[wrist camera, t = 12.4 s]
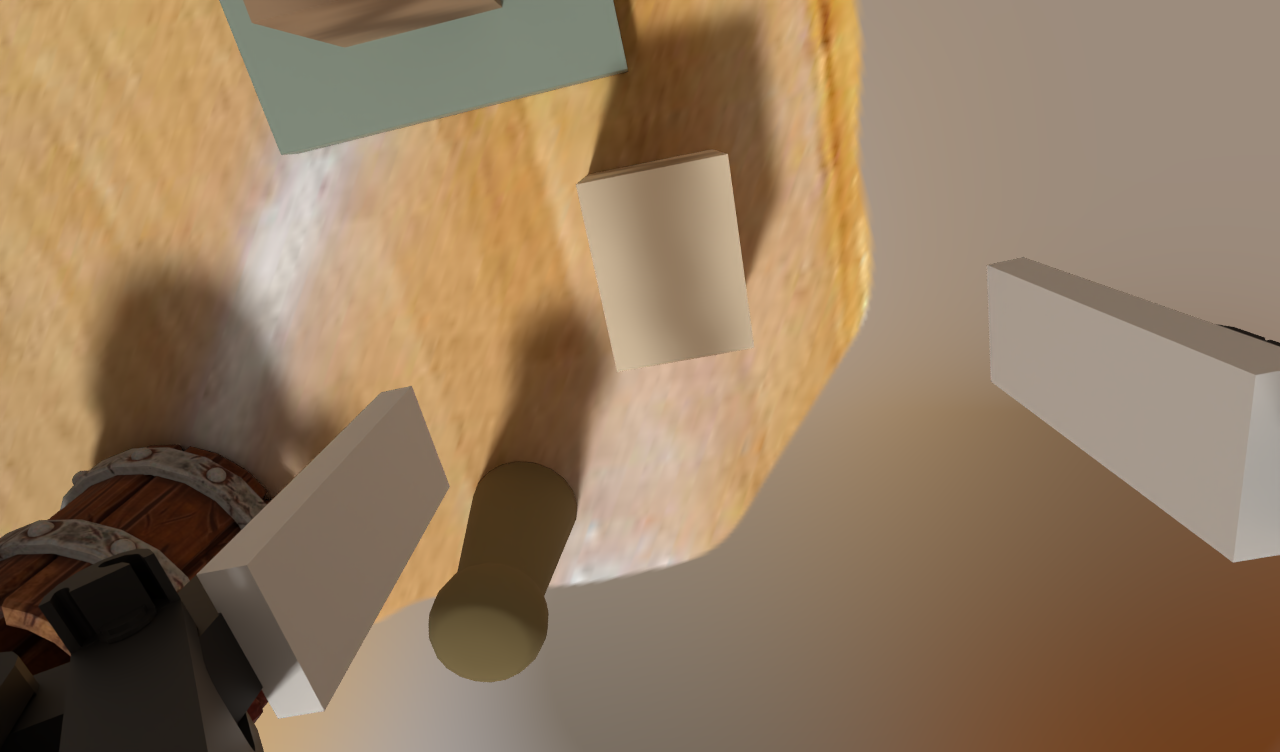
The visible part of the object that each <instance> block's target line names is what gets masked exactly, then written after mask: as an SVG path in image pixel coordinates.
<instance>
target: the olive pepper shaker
mask: <svg viewBox="0 0 1280 752" xmlns="http://www.w3.org/2000/svg"><path fill="white" fill-rule="evenodd" d="M576 513H577V503H576V500H575V497H574V493H573V491H572V489H571V488H570V486H569V485H568V484H567V482H566V481H565V480H564V478H562V477H561V476H560V475H558V474H557V473H556V472H554V471H553V470H552V469H550V468H547V467H544V466H542V465H539V464H536V463H529V462H514V463H509V464H504V465H501V466H499V467H497V468H495V469H493V470H492V471H490V472H488V473H487V474H486V475H485V477H484V478H483V479H482V480H481V481H480V482H479V483H478V486H477V488H476V491H475V493H474V496H473V500H472V505H471V510H470V515H469V519H468V524H467V529H466V534H465V538H464V543H463V548H462V553H461V557H460V562H459V567H458V572H457V573H456V574H455V575H454V576H453V577H452V578H451V579H450V580H449V581H448V582H447V583H446V584H445V585H444V587H443V588H442V589H441V590H440V591H439V593H438V595H437V597H436V599H435V601H434V604H433V606H432V609H431V611H430V615H429V639H430V641H431V644H432V646H433V649H434V651H435V653H436V656H437V658H438V659H439V660H440V661H441V662H442V663H443V664H444V665H445V667H446V668H448V669H449V670H451V671H452V672H454V673H456V674H457V675H459V676H461V677H464V678H467V679H470V680H473V681H480V682H495V681H501V680H506V679H508V678H510V677H512V676H514V675H516V674H518V673H520V672H521V671H522V670H524V669H525V668H526V667H527V666H528V665H529V664H530V663H531V662H532V661H533V660H535V658H536V657H537V655H538V653H539V651H540V649H541V647H542V645H543V643H544V641H545V639H546V635H547V629H548V608H547V603H546V601H545V598H544V595H545V593H546V590H547V588H548V585H549V583H550V581H551V578H552V576H553V573H554V571H555V569H556V566H557V564H558V561H559V559H560V556H561V554H562V552H563V549H564V547H565V544H566V542H567V540H568V537H569V535H570V532H571V530H572V528H573V525H574V523H575V520H576Z"/></svg>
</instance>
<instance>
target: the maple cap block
mask: <svg viewBox="0 0 1280 752" xmlns="http://www.w3.org/2000/svg"><path fill="white" fill-rule="evenodd" d="M576 187H577V192H578V196H579V201H580V205H581V210H582V215H583V219H584V224H585V228H586V233H587V237H588V242H589V247H590V251H591V256H592V260H593V265H594V269H595V274H596V278H597V283H598V288H599V292H600V297H601V301H602V306H603V310H604V315H605V319H606V324H607V329H608V333H609V338H610V342H611V347H612V351H613V356H614V361H615V365H616V370H617V372H621V371H627V370H632V369H638V368H644V367H649V366H655V365H660V364H666V363H672V362H677V361H683V360H689V359H694V358H700V357H705V356H711V355H717V354H722V353H728V352H733V351H739V350H745V349H750V348H754V342H753V335H752V327H751V320H750V313H749V305H748V298H747V291H746V283H745V276H744V269H743V261H742V254H741V247H740V239H739V232H738V225H737V217H736V210H735V203H734V195H733V188H732V181H731V173H730V166H729V159H728V154H726V153H723V152H720V151H717V150H714V149H711V150H706V151H701V152H696V153H691V154H686V155H681V156H676V157H671V158H666V159H661V160H656V161H651V162H646V163H641V164H636V165H631V166H626V167H621V168H616V169H612V170H607V171H602V172H597V173H592V174H588V175H587V176H585V177H584V178H583V179H582V180H581V181H580V182H578V183H577V184H576Z"/></svg>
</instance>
